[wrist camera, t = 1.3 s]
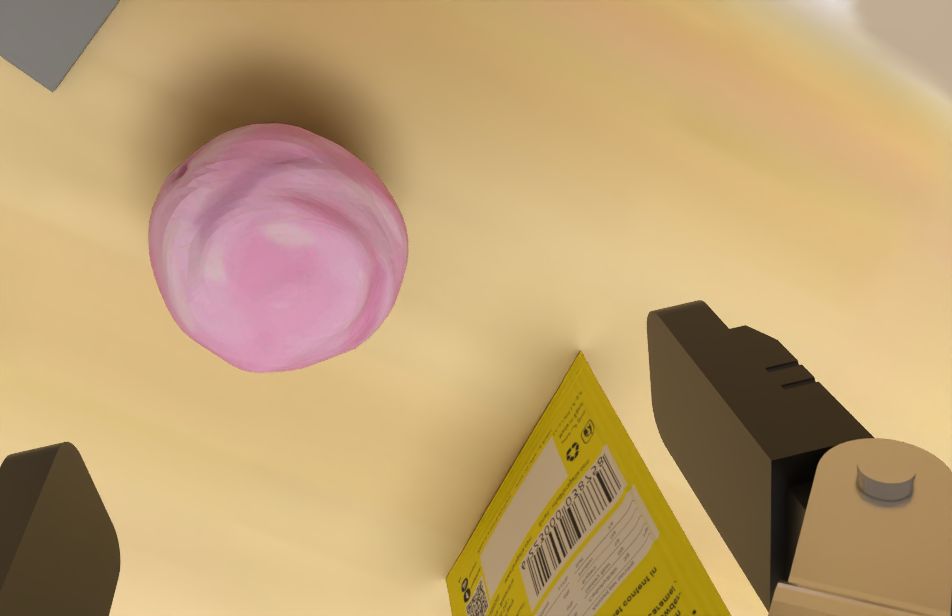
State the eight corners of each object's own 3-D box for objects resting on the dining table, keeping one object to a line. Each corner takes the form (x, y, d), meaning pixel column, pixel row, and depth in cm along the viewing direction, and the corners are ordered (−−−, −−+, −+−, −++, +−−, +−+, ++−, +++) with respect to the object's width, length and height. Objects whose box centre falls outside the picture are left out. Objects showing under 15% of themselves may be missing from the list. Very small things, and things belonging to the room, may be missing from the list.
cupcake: (429, 173, 37) (469, 270, 29) (309, 321, 40) (311, 452, 31) (251, 39, 34) (234, 102, 25) (129, 209, 36) (73, 323, 27)
